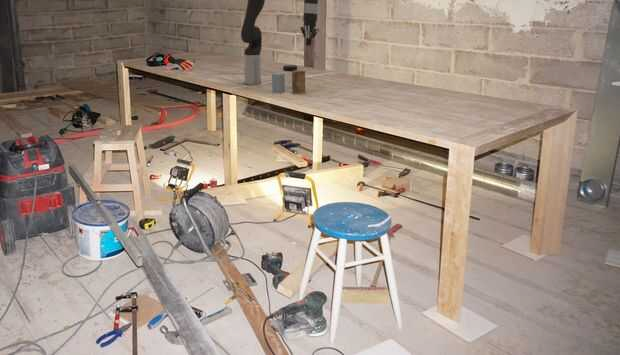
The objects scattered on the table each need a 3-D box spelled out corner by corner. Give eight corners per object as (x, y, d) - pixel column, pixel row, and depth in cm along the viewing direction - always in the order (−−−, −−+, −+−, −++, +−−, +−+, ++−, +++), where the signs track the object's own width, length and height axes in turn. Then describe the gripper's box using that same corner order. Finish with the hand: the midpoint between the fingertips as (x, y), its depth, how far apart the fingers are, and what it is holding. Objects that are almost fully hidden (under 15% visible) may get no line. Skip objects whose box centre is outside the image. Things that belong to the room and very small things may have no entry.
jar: (281, 88, 318) (281, 66, 314) (284, 85, 326) (283, 64, 322) (296, 88, 317) (296, 67, 313) (299, 85, 324) (299, 65, 320)
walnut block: (292, 93, 302) (292, 71, 299) (299, 92, 306) (298, 70, 302) (298, 94, 299) (298, 72, 295) (305, 93, 302) (305, 71, 298)
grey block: (272, 92, 306) (271, 73, 303) (277, 90, 310) (277, 72, 307) (279, 93, 303) (279, 74, 300) (284, 91, 307) (284, 73, 304)
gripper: (297, 11, 300) (295, 44, 305) (313, 12, 291) (311, 46, 296) (307, 12, 305) (305, 44, 310) (324, 13, 296) (321, 46, 301)
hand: (308, 45), depth 303 cm, fingers closed
